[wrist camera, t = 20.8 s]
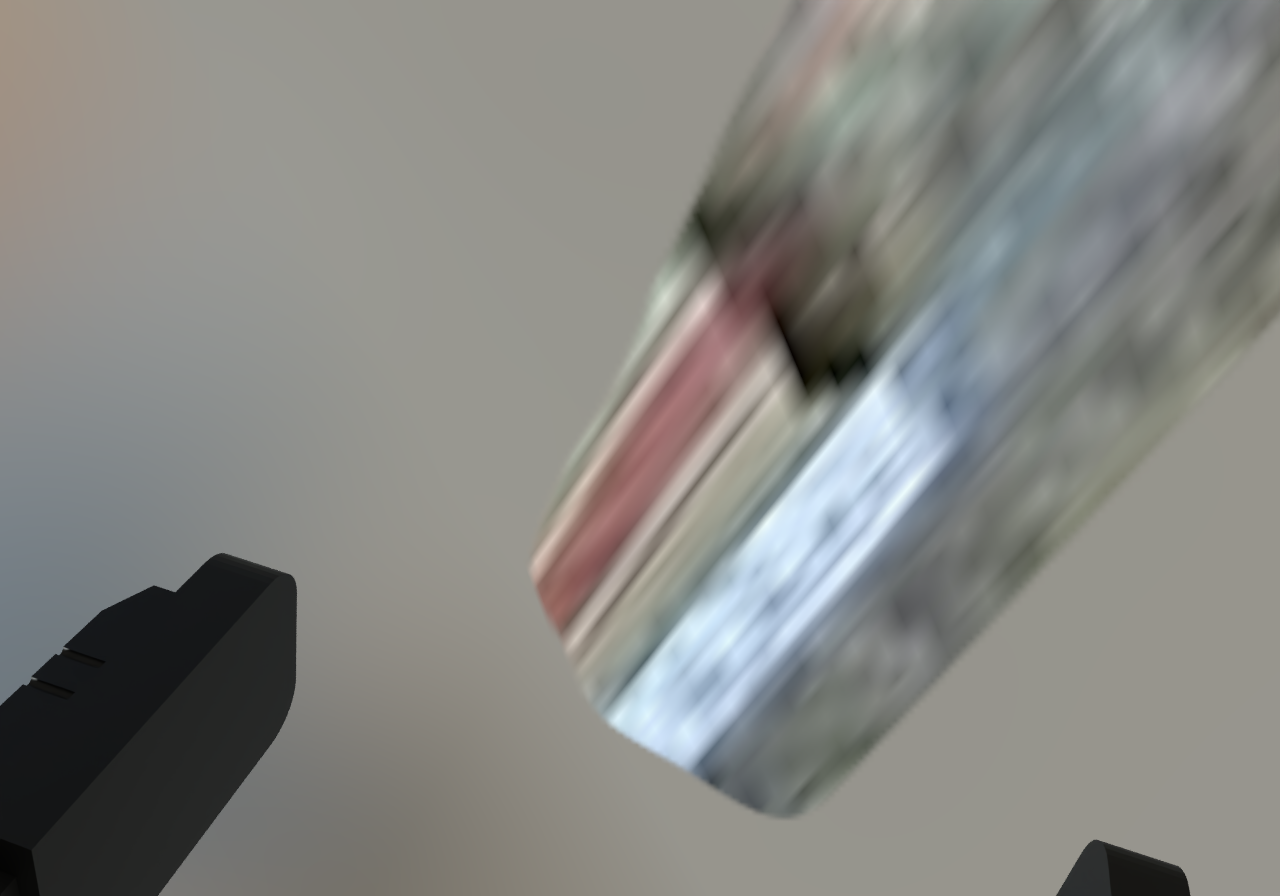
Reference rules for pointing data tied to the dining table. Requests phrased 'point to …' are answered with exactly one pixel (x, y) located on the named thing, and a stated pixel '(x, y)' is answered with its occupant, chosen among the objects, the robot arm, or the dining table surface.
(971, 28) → the dining table surface
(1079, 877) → the robot arm
